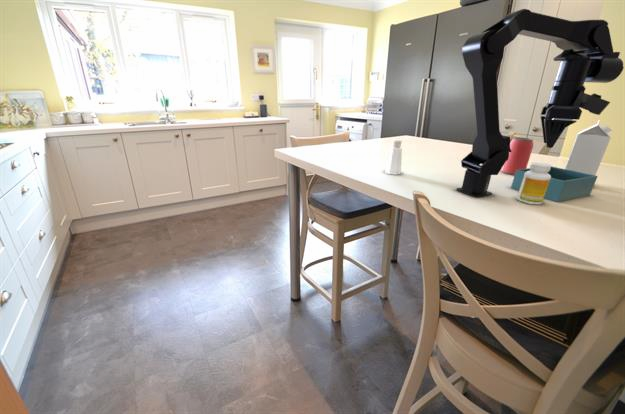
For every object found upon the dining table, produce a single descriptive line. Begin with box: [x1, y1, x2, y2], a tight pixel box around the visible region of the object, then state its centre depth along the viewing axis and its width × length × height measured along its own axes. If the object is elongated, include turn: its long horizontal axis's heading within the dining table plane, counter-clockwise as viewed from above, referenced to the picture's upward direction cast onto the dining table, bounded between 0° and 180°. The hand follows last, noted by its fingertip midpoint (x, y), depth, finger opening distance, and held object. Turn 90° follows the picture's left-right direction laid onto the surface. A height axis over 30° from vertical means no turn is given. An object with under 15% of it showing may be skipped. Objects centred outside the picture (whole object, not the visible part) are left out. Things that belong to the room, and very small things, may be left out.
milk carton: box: [564, 119, 613, 176], centre depth 85 cm, size 7×7×19 cm
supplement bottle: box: [516, 162, 552, 205], centre depth 71 cm, size 5×5×10 cm
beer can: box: [502, 136, 534, 176], centre depth 97 cm, size 7×7×12 cm
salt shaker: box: [384, 139, 403, 176], centre depth 95 cm, size 5×5×11 cm
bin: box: [510, 165, 598, 203], centre depth 80 cm, size 15×12×6 cm
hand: (547, 145), depth 76 cm, fingers open, 9 cm apart
